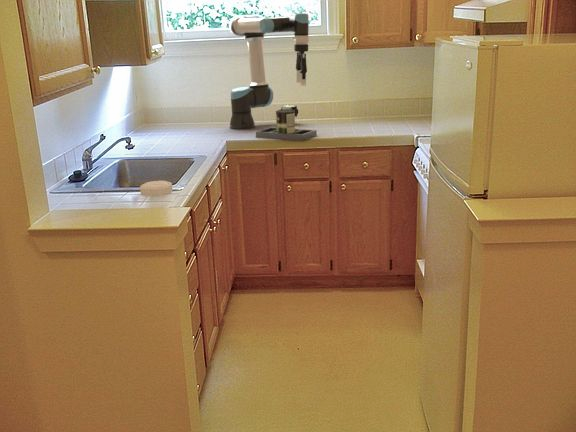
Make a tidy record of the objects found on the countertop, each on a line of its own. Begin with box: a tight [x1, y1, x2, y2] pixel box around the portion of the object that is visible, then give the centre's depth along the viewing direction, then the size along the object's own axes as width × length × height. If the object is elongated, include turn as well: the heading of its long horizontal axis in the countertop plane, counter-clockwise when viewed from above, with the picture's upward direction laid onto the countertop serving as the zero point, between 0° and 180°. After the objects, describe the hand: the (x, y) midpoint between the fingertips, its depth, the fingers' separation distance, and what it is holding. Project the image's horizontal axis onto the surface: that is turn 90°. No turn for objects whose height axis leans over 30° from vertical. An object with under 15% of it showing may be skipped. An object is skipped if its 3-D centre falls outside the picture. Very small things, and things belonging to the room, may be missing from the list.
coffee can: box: [275, 109, 296, 134], centre depth 332 cm, size 10×10×14 cm
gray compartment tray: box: [255, 126, 318, 141], centre depth 334 cm, size 30×15×3 cm, turn 59°
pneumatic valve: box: [280, 103, 299, 118], centre depth 373 cm, size 6×12×12 cm, turn 41°
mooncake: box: [139, 179, 173, 197], centre depth 232 cm, size 12×12×4 cm
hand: (301, 83), depth 334 cm, fingers open, 13 cm apart
